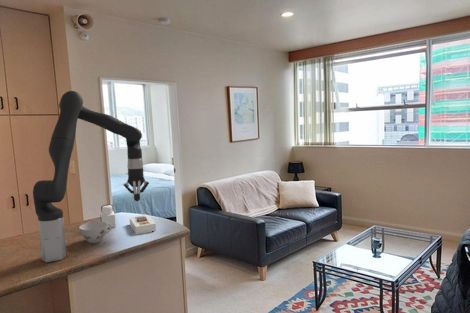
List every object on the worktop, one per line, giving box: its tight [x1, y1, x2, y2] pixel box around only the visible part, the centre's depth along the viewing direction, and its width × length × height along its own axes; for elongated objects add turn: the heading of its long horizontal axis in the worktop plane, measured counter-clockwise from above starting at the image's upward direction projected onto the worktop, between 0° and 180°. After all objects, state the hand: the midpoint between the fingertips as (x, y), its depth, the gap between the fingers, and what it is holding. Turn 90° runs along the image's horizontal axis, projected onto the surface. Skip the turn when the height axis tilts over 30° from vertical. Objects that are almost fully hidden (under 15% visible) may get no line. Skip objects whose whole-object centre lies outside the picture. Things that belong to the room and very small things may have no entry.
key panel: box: [129, 214, 157, 235], centre depth 178 cm, size 19×10×4 cm, turn 27°
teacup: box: [79, 220, 113, 244], centre depth 160 cm, size 15×12×8 cm
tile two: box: [137, 217, 147, 222], centre depth 177 cm, size 4×4×3 cm
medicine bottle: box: [99, 204, 117, 229], centre depth 181 cm, size 7×7×12 cm
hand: (137, 200), depth 170 cm, fingers closed
